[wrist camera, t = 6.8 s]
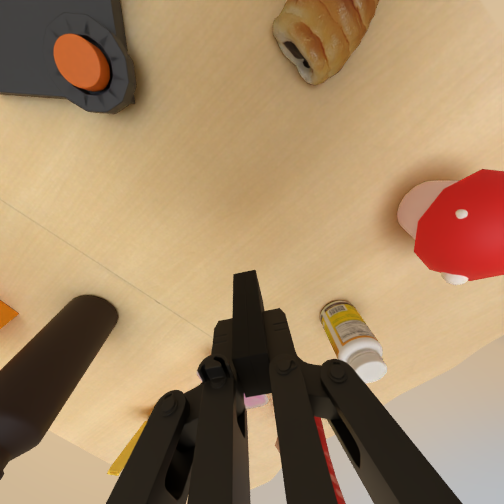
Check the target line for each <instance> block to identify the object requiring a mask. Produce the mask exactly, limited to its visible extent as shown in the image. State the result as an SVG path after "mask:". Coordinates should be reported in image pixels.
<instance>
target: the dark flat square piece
mask: <svg viewBox="0 0 504 504" xmlns="http://www.w3.org/2000/svg"><path fill="white" fill-rule="evenodd" d="M64 34H76V35H79V36H81V37H82V38H84V39H86V40H87V41H89V42H90V43H92V44H93V45H95V46H96V47H98V48H99V49H100V50H101V52H102V53H103V54H104V56H105V57H106V59H107V61H108V64H109V68H110V80H109V83H108V85H107V86H106V87H105V88H104V89H103V90H101V91H97V92H93V91H89V90H85V89H82V88H79V87H76V86H74V85H72V84H71V83H70V82H68V81H67V80H66V79H65V78H64V77H63V75H62V74H61V73H60V71H59V69H58V68H57V65H56V63H55V59H54V45H55V42H56V40H57V39H58V38H59V37H60V36H62V35H64ZM135 89H136V79H135V72H134V65H133V61H132V59H131V58H130V56H129V54H128V52H127V45H126V38H125V32H124V25H123V18H122V11H121V5H120V0H0V94H3V95H17V96H31V97H45V98H60V99H68V100H69V101H71V102H73V103H74V104H76V105H77V106H79V107H81V108H82V109H84V110H86V111H89V112H95V113H107V114H116V113H117V112H119V111H120V110H122V109H124V108H125V107H127V106H128V105H129V104H135V99H134V92H135Z"/></svg>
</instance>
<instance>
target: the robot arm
mask: <svg viewBox="0 0 504 504" xmlns="http://www.w3.org/2000/svg"><path fill="white" fill-rule="evenodd" d="M213 337H214V338H213V345H212V353H211V355H210V356H208V357H207V358H205V359H204V360H203V361H202V362H201V364H200V365H199V367H198V370H197V371H198V373H199V375H200V377H201V379H202V381H203V382H202V383H201V384H200V385H199V386H197V387H196V388H194V389H192V390H190V391H188V392H186V393H184V394H183V392H182V391H179V390H173V391H170V392H168V393H166V394H165V395H163V396H162V397H161V398H160V399H159V401H158V402H157V404H156V405H155V407H154V409H153V411H152V413H151V415H150V417H149V419H148V421H147V423H146V425H145V427H144V429H143V431H142V433H141V435H140V437H139V439H138V441H137V443H136V445H135V447H134V449H133V451H132V453H131V455H130V457H129V459H128V461H127V463H126V465H125V467H124V469H123V471H122V473H121V475H120V477H119V479H118V481H117V483H116V485H115V487H114V489H113V491H112V493H111V495H110V497H109V499H108V501H107V502H106V504H186V501H187V497H188V502H187V504H250V481H249V456H248V431H247V411H246V406H245V404H244V394H245V397H246V398H247V397H253V396H258V395H263V394H269V393H272V397H273V404H274V412H275V419H276V427H277V434H278V441H279V449H280V456H281V463H282V471H283V478H284V486H285V493H286V500H287V504H338V502H337V498H336V495H335V491H334V487H333V484H332V480H331V476H330V473H329V469H328V465H327V462H326V458H325V454H324V451H323V447H322V444H321V440H320V436H319V433H318V429H317V425H316V422H315V418H314V416H315V417H320V418H325V419H327V420H328V422H329V424H330V426H331V427H332V429H333V431H334V433H335V434H336V436H337V438H338V440H339V442H340V443H341V445H342V447H343V449H344V451H345V452H346V454H347V456H348V458H349V460H350V461H351V463H352V465H353V467H354V468H355V470H356V472H357V474H358V476H359V477H360V479H361V481H362V483H363V485H364V486H365V488H366V490H367V491H368V493H369V495H370V497H371V499H372V501H373V502H374V504H462V503H461V501H460V500H459V499H458V498H457V496H456V495H455V494H454V493H453V491H452V490H451V489H450V488H449V487H448V485H447V484H446V483H445V482H444V480H443V479H442V478H441V477H440V475H439V474H438V473H437V472H436V470H435V469H434V468H433V467H432V465H431V464H430V463H429V462H428V461H427V460H426V458H425V457H424V456H423V454H422V453H421V452H420V451H419V449H418V448H417V447H416V446H415V444H414V443H413V442H412V441H411V440H410V438H409V437H408V436H407V435H406V433H405V432H404V431H403V430H402V428H401V427H400V426H399V425H398V423H397V422H396V421H395V420H394V419H393V418H392V416H391V415H390V414H389V412H388V411H387V410H386V409H385V407H384V406H383V405H382V404H381V402H380V401H379V400H378V399H377V398H376V396H375V395H374V394H373V393H372V391H371V390H370V389H369V388H368V386H367V385H366V384H365V383H364V381H363V380H362V379H361V378H360V377H359V375H358V374H357V373H356V372H355V370H354V369H353V368H352V367H351V366H350V365H349V364H348V363H347V362H344V361H342V360H339V359H331V360H327V361H326V362H325V363H323V364H322V366H321V365H313V364H308V363H306V362H304V361H302V360H301V359H300V358H299V357H298V356H297V354H296V352H295V348H294V345H293V341H292V337H291V334H290V330H289V327H288V323H287V319H286V316H285V313H284V312H283V311H282V310H281V309H280V308H278V309H273V310H268V311H264V305H263V300H262V296H261V291H260V287H259V283H258V279H257V274H256V270H252V271H247V272H242V273H237V274H234V276H233V318H232V319H227V320H222V321H218V323H217V325H216V327H215V328H214V336H213ZM188 494H189V495H188Z"/></svg>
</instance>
